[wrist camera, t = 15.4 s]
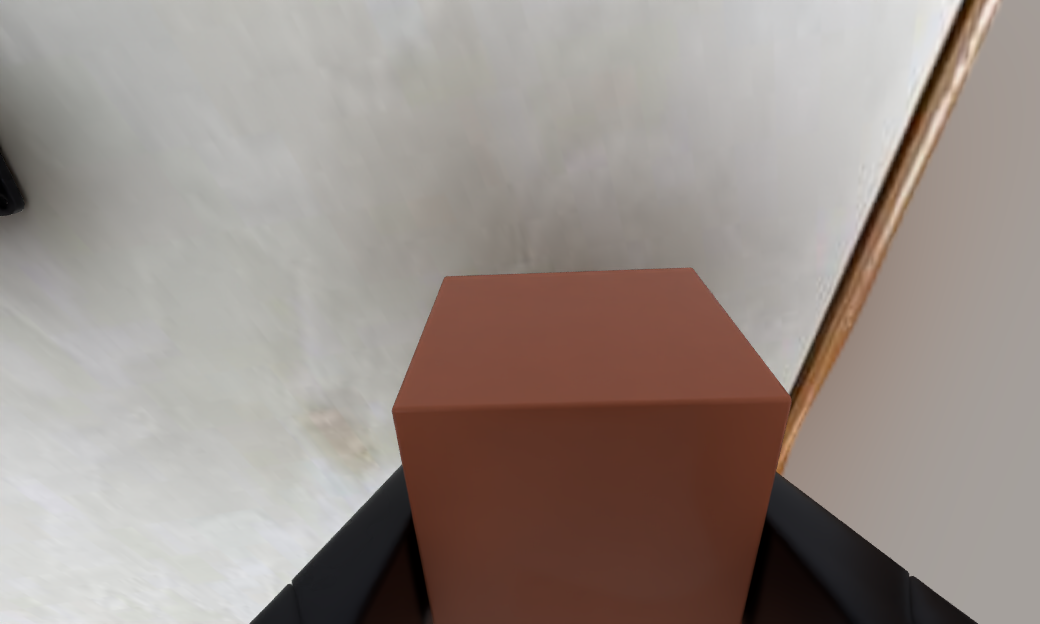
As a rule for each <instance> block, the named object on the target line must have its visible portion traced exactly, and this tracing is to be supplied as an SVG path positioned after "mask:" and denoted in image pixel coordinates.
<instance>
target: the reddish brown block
mask: <svg viewBox="0 0 1040 624" xmlns="http://www.w3.org/2000/svg"><path fill="white" fill-rule="evenodd" d="M791 403H792V401H791V397H790V396H789V394H788V393H787V392H786V390H785V389H784V388H783V386H782V385H781V384H780V382H779V381H778V380H777V378H776V377H775V376H774V374H773V373H772V372H771V371H770V369H769V368H768V367H767V365H766V364H765V363H764V361H763V360H762V359H761V357H760V356H759V355H758V353H757V352H756V351H755V350H754V348H753V347H752V346H751V344H750V343H749V342H748V340H747V339H746V338H745V336H744V335H743V334H742V332H741V331H740V330H739V328H738V327H737V326H736V325H735V323H734V322H733V321H732V319H731V318H730V317H729V315H728V314H727V313H726V311H725V310H724V309H723V307H722V306H721V305H720V304H719V302H718V301H717V300H716V298H715V297H714V296H713V294H712V293H711V292H710V290H709V289H708V288H707V286H706V285H705V284H704V283H703V281H702V280H701V279H700V277H699V276H698V275H697V273H696V272H695V271H694V269H693V268H665V269H638V270H610V271H583V272H556V273H528V274H501V275H473V276H447V277H444V280H443V282H442V285H441V287H440V290H439V292H438V295H437V297H436V300H435V302H434V305H433V307H432V310H431V312H430V315H429V317H428V320H427V322H426V325H425V327H424V330H423V332H422V335H421V337H420V340H419V343H418V345H417V348H416V350H415V353H414V355H413V358H412V360H411V363H410V365H409V368H408V370H407V373H406V375H405V378H404V380H403V383H402V385H401V388H400V390H399V393H398V395H397V398H396V401H395V403H394V406H393V408H392V414H393V419H394V424H395V430H396V435H397V440H398V445H399V450H400V455H401V460H402V466H403V471H404V476H405V481H406V486H407V491H408V497H409V502H410V507H411V512H412V517H413V522H414V527H415V533H416V538H417V543H418V548H419V553H420V558H421V564H422V569H423V574H424V579H425V584H426V589H427V594H428V600H429V605H430V610H431V615H432V620H433V624H741V623H742V619H743V615H744V610H745V606H746V601H747V597H748V592H749V588H750V584H751V579H752V575H753V570H754V566H755V562H756V557H757V553H758V548H759V544H760V540H761V535H762V531H763V526H764V522H765V517H766V513H767V509H768V504H769V500H770V495H771V491H772V487H773V482H774V478H775V473H776V469H777V465H778V460H779V456H780V451H781V447H782V442H783V438H784V434H785V429H786V425H787V420H788V416H789V412H790V407H791Z"/></svg>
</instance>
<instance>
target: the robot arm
mask: <svg viewBox="0 0 1040 624" xmlns="http://www.w3.org/2000/svg"><path fill="white" fill-rule="evenodd" d="M4 198H5V200H6V201H7V203H8V204H7V203H6V202H5V201H4ZM23 209H24V201H23V198H22V196H21V194H20V192H19V190H18V188H17V186H16V184H15V182H14V180H13V178H12V175H11V173H10V171H9V169H8V167H7V165H6V163H5V161H4V159H3V157H2V155H1V153H0V216H7V215H11V214H14V213H18V212H21V211H22V210H23ZM249 624H433V620H432V615H431V610H430V605H429V600H428V594H427V589H426V584H425V579H424V574H423V569H422V564H421V558H420V553H419V548H418V543H417V538H416V533H415V527H414V522H413V517H412V512H411V507H410V502H409V497H408V491H407V486H406V481H405V476H404V471H403V466H402V465H401V466H400V467H399V468H398V469H397V470H396V471H395V472H394V473H393V475H392V476H391V477H390V478H389V479H388V480H387V481H386V482H385V483H384V484H383V485H382V486H381V487H380V488H379V489H378V490H377V491H376V492H375V493H374V494H373V496H372V497H371V498H370V499H369V500H368V501H367V502H366V503H365V504H364V505H363V506H362V507H361V508H360V509H359V510H358V511H357V512H356V513H355V514H354V515H353V517H352V518H351V519H350V520H349V521H348V522H347V523H346V524H345V525H344V526H343V527H342V528H341V529H340V530H339V531H338V532H337V533H336V534H335V535H334V536H333V538H332V539H331V540H330V541H329V542H328V543H327V544H326V545H325V546H324V547H323V548H322V549H321V550H320V551H319V552H318V553H317V554H316V555H315V556H314V557H313V559H312V560H311V561H310V562H309V563H308V564H307V565H306V566H305V567H304V568H303V569H302V570H301V571H300V572H299V573H298V574H297V575H296V576H295V577H294V578H293V580H292V584H288V585H287V586H286V587H285V588H284V589H283V590H282V591H281V592H280V593H279V594H278V595H277V596H276V597H275V598H274V599H273V600H272V601H271V602H270V603H269V604H268V605H267V606H266V607H265V608H264V609H263V610H262V611H261V612H260V613H259V614H258V615H257V616H256V617H255V618H254V619H253V620H252V621H251V622H250V623H249ZM741 624H978V623H976V622H975V621H974V620H972V619H971V618H970V617H968V616H967V615H966V614H964V613H963V612H961V611H960V610H959V609H957V608H956V607H955V606H953V605H952V604H950V603H949V602H948V601H946V600H945V599H944V598H942V597H941V596H939V595H938V594H937V593H936V592H934V591H933V590H932V589H930V588H929V587H928V586H926V585H925V584H924V583H922V582H921V581H920V580H919V579H917V578H916V577H914V576H910V577H909V573H908V571H906V570H905V569H904V568H902V567H901V566H900V565H898V564H897V563H896V562H894V561H893V560H892V559H891V558H889V557H888V556H887V555H885V554H884V553H883V552H881V551H880V550H879V549H877V548H876V547H875V546H873V545H872V544H871V543H869V542H868V541H867V540H865V539H864V538H863V537H862V536H860V535H859V534H857V533H856V532H855V531H853V530H852V529H851V528H850V527H848V526H847V525H846V524H844V523H843V522H842V521H840V520H839V519H838V518H836V517H835V516H834V515H832V514H831V513H830V512H828V511H827V510H826V509H824V508H823V507H822V506H821V505H819V504H818V503H817V502H815V501H814V500H813V499H811V498H810V497H809V496H807V495H806V494H805V493H803V492H802V491H801V490H799V489H798V488H797V487H796V486H794V485H793V484H791V483H790V482H789V481H788V480H786V479H785V478H784V477H782V476H781V475H780V474H778V473H777V472H776V473H775V478H774V482H773V487H772V491H771V495H770V500H769V504H768V509H767V513H766V517H765V522H764V526H763V531H762V535H761V540H760V544H759V548H758V553H757V557H756V562H755V566H754V570H753V575H752V579H751V584H750V588H749V592H748V597H747V601H746V606H745V610H744V615H743V619H742V623H741Z"/></svg>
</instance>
